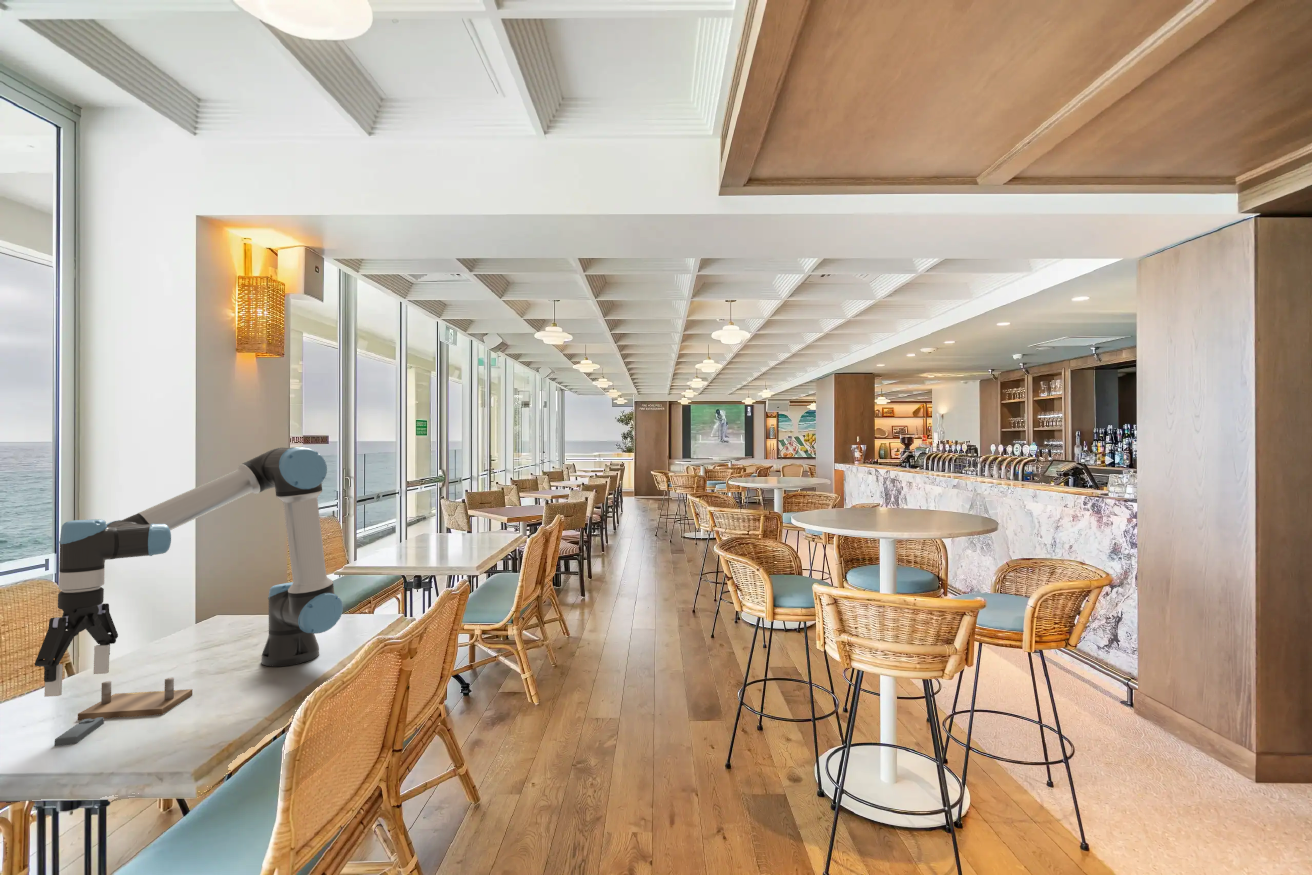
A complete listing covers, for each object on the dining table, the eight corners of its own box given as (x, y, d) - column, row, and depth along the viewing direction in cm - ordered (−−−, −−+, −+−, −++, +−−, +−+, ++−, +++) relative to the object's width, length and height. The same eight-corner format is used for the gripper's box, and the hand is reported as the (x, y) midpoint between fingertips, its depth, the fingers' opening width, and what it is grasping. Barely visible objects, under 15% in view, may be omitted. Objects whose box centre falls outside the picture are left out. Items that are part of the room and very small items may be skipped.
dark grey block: (53, 748, 131) (54, 738, 131) (83, 727, 141) (83, 718, 141) (76, 745, 132) (76, 736, 132) (104, 724, 142) (104, 716, 142)
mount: (192, 694, 158) (192, 669, 158) (162, 714, 146) (162, 687, 146) (114, 699, 155) (115, 673, 155) (77, 720, 143) (78, 692, 144)
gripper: (104, 578, 149) (101, 665, 148) (12, 602, 124) (8, 707, 123) (138, 577, 150) (135, 664, 149) (54, 601, 125) (50, 705, 125)
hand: (78, 684), depth 136 cm, fingers open, 13 cm apart
